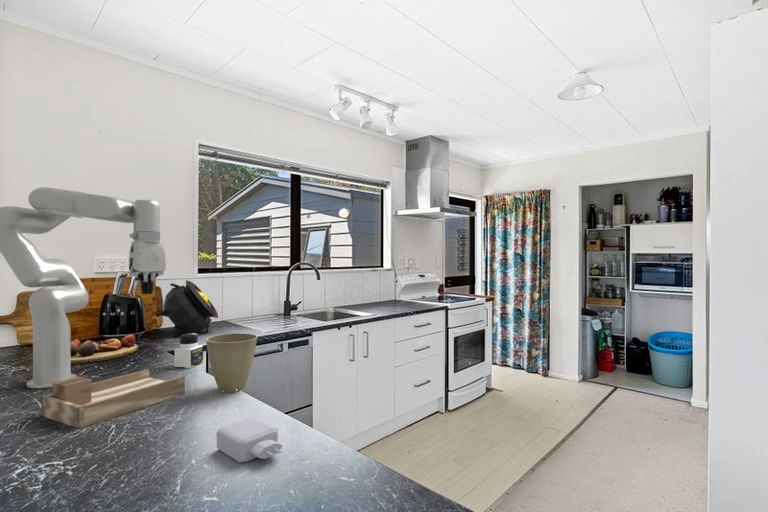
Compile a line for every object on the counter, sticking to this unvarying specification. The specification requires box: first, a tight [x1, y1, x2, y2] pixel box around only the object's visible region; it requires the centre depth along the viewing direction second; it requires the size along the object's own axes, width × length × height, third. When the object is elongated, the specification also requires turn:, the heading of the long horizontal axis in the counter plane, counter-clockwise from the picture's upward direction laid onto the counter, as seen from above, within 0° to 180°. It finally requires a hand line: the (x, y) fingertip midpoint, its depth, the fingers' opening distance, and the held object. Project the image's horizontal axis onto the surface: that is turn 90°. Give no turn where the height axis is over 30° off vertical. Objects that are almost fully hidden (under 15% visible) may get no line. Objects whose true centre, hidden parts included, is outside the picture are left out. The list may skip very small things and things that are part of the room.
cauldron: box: [154, 279, 219, 338], centre depth 217 cm, size 28×28×24 cm
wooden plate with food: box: [71, 334, 139, 365], centre depth 170 cm, size 32×32×8 cm
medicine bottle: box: [174, 332, 204, 369], centre depth 152 cm, size 7×7×12 cm
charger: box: [216, 417, 283, 464], centre depth 83 cm, size 5×9×15 cm
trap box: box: [41, 369, 186, 429], centre depth 112 cm, size 18×28×5 cm, turn 153°
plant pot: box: [205, 332, 258, 393], centre depth 125 cm, size 15×15×16 cm
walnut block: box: [52, 376, 92, 405], centre depth 105 cm, size 6×6×6 cm
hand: (147, 293), depth 131 cm, fingers closed
